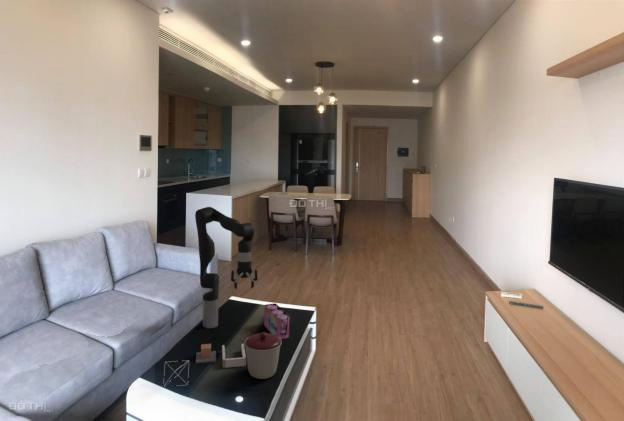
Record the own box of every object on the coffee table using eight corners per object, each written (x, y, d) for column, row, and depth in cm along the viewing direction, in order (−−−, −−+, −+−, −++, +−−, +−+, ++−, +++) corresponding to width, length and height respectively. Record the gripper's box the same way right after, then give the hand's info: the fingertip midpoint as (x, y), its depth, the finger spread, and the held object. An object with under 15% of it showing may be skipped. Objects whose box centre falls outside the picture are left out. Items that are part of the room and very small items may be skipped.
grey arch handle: (222, 352, 216) (222, 345, 215) (243, 350, 218) (243, 343, 218) (222, 367, 200) (222, 360, 200) (245, 365, 203) (246, 358, 202)
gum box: (290, 338, 235) (291, 316, 233) (277, 341, 231) (278, 318, 230) (275, 323, 256) (275, 302, 254) (263, 325, 253) (264, 304, 251)
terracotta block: (201, 353, 212) (201, 344, 211) (210, 352, 213) (211, 343, 213) (201, 358, 207) (201, 348, 207) (211, 357, 209) (211, 348, 208)
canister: (265, 388, 184) (266, 344, 181) (235, 375, 193) (236, 334, 191) (288, 371, 199) (289, 330, 196) (259, 360, 209) (260, 321, 206)
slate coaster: (196, 354, 213) (196, 352, 213) (215, 352, 215) (215, 351, 215) (195, 363, 203) (195, 361, 203) (216, 361, 206) (216, 360, 206)
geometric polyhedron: (167, 392, 178) (167, 373, 177) (158, 381, 186) (158, 363, 185) (194, 383, 186) (194, 364, 185) (184, 373, 194) (184, 355, 193)
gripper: (231, 261, 213) (231, 291, 215) (258, 260, 216) (257, 289, 219) (230, 258, 220) (230, 286, 222) (256, 257, 224) (256, 285, 226)
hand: (244, 288), depth 220 cm, fingers open, 8 cm apart
